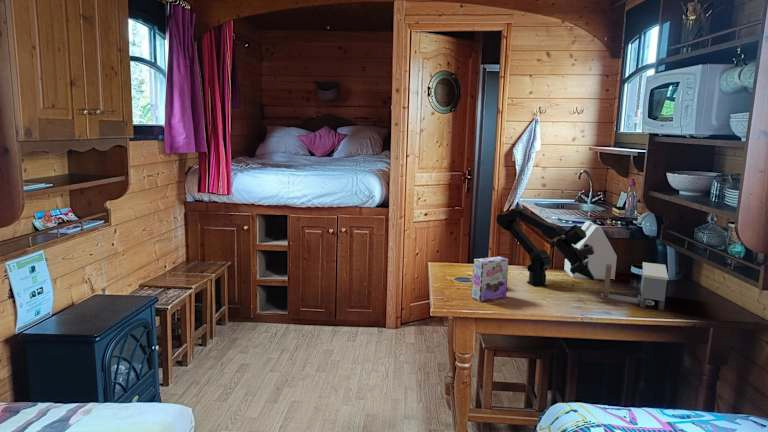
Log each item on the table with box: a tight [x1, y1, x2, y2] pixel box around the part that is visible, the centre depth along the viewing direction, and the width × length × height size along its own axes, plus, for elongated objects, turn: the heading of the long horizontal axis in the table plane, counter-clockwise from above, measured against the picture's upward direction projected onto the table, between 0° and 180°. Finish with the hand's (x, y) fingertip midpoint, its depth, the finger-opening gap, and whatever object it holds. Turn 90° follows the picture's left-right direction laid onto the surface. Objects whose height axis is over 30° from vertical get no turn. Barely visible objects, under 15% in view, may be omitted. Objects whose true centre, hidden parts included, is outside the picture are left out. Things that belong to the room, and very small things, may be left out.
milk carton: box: [563, 220, 618, 280], centre depth 251 cm, size 19×15×25 cm
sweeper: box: [599, 264, 642, 306], centre depth 215 cm, size 15×6×14 cm, turn 64°
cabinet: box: [639, 261, 669, 312], centre depth 213 cm, size 9×23×14 cm, turn 154°
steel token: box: [646, 299, 655, 306], centre depth 211 cm, size 4×4×1 cm
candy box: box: [470, 256, 510, 302], centre depth 212 cm, size 14×6×16 cm, turn 117°
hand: (593, 279), depth 219 cm, fingers closed
